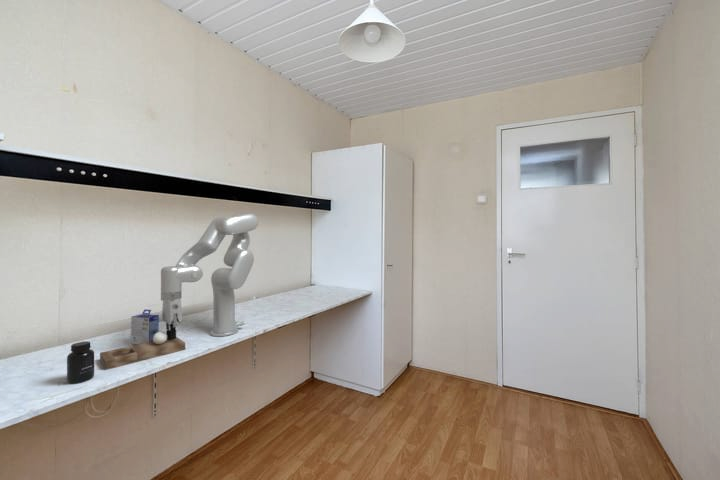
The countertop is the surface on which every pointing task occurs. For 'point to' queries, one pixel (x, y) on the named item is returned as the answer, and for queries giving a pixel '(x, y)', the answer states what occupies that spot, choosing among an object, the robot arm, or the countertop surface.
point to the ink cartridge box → (144, 327)
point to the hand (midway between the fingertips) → (171, 339)
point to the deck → (139, 352)
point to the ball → (160, 337)
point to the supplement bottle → (80, 363)
